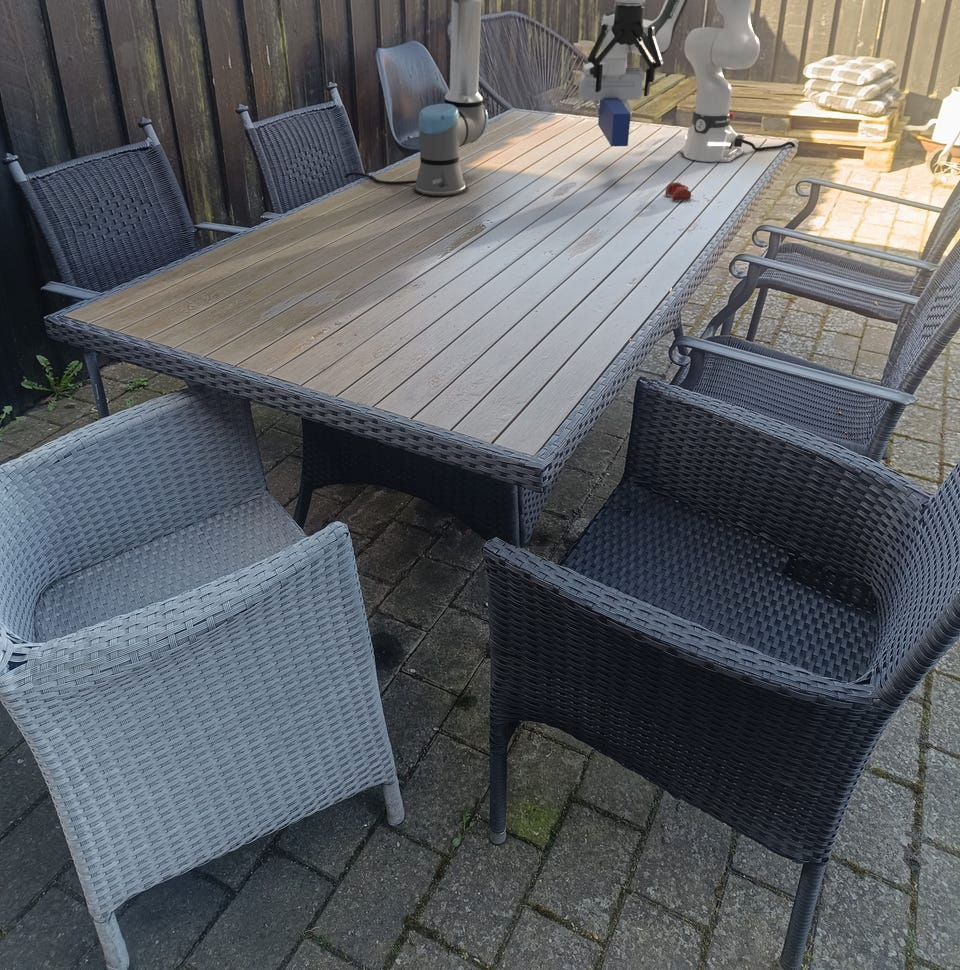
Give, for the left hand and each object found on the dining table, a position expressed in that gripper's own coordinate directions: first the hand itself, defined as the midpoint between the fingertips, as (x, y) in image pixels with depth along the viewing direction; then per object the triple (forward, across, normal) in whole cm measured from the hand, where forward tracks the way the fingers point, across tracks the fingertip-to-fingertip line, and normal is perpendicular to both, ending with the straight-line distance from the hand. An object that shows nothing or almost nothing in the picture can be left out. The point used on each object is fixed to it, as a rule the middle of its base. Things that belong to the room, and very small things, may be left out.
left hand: (622, 93), depth 230 cm
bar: (+18, +10, -29) cm, 35 cm away
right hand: (+14, +14, -37) cm, 42 cm away
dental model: (+30, -16, -13) cm, 37 cm away
